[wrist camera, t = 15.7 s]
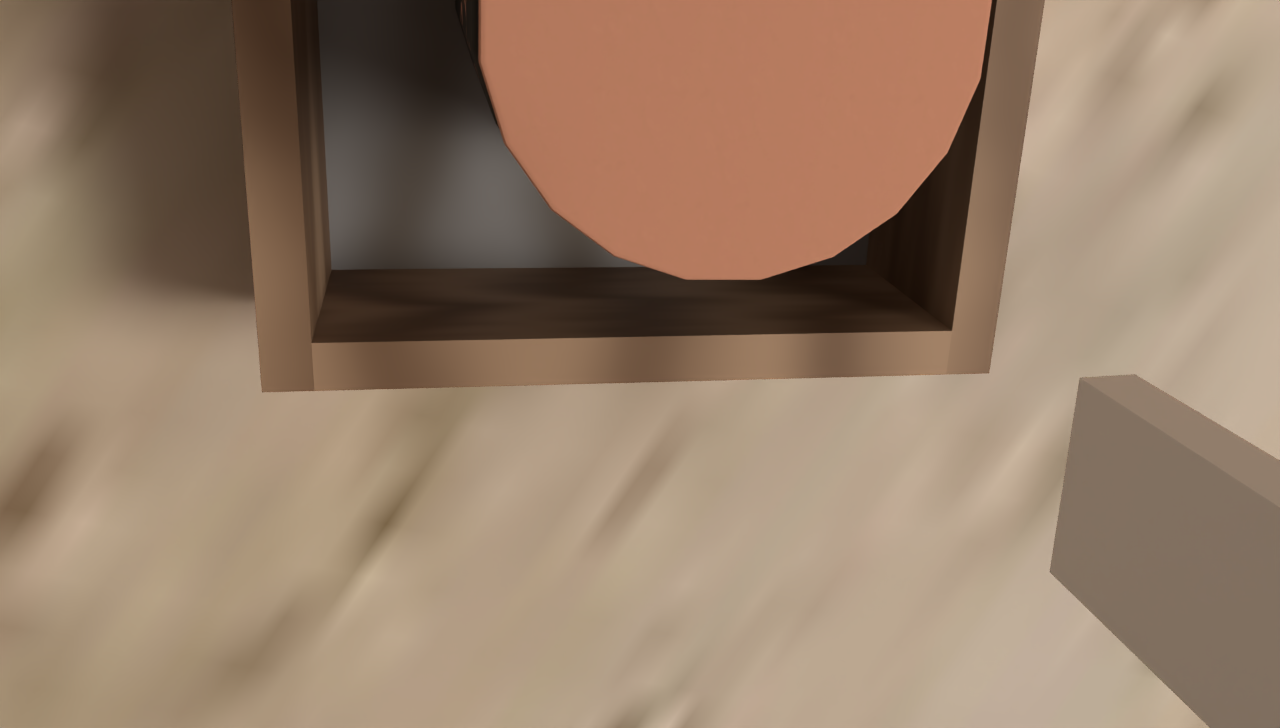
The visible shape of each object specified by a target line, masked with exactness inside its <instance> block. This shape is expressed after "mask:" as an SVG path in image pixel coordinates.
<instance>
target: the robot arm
mask: <svg viewBox="0 0 1280 728" xmlns="http://www.w3.org/2000/svg"><path fill="white" fill-rule="evenodd" d="M1050 573H1051V574H1052V575H1053V576H1054V577H1055V578H1056V579H1057V580H1059V581H1060V582H1061V583H1062V584H1063V585H1064V586H1065V587H1066V588H1067V589H1068V590H1069V591H1070V592H1071V593H1072V594H1073V595H1074V596H1075V597H1076V598H1077V599H1078V600H1079V601H1080V602H1081V603H1082V604H1083V605H1084V606H1085V607H1086V608H1087V609H1088V610H1089V611H1090V612H1091V613H1092V614H1093V615H1095V616H1096V617H1097V618H1098V619H1099V620H1100V621H1101V622H1102V623H1103V624H1104V625H1105V626H1106V627H1107V628H1108V629H1109V630H1110V631H1111V632H1112V633H1113V634H1114V635H1115V636H1116V637H1117V638H1118V639H1119V640H1120V641H1121V642H1122V643H1123V644H1124V645H1125V646H1126V647H1127V648H1128V649H1129V650H1131V651H1132V652H1133V653H1134V654H1135V655H1136V656H1137V657H1138V658H1139V659H1140V660H1141V661H1142V662H1143V663H1144V664H1145V665H1146V666H1147V667H1148V668H1149V669H1150V670H1151V671H1152V672H1153V673H1154V674H1155V675H1156V676H1157V677H1158V678H1159V679H1160V680H1161V681H1162V682H1163V683H1164V684H1166V685H1167V686H1168V687H1169V688H1170V689H1171V690H1172V691H1173V692H1174V693H1175V694H1176V695H1177V696H1178V697H1179V698H1180V699H1181V700H1182V701H1183V702H1184V703H1185V704H1186V705H1187V706H1188V707H1189V708H1190V709H1191V710H1192V711H1193V712H1194V713H1195V714H1196V715H1197V716H1198V717H1199V718H1200V719H1202V720H1203V721H1204V722H1205V723H1206V724H1207V725H1208V726H1209V727H1210V728H1280V460H1278V459H1276V458H1275V457H1273V456H1271V455H1270V454H1268V453H1266V452H1264V451H1263V450H1261V449H1259V448H1258V447H1256V446H1254V445H1253V444H1251V443H1249V442H1248V441H1246V440H1244V439H1243V438H1241V437H1239V436H1238V435H1236V434H1234V433H1233V432H1231V431H1229V430H1227V429H1226V428H1224V427H1222V426H1221V425H1219V424H1217V423H1216V422H1214V421H1212V420H1211V419H1209V418H1207V417H1206V416H1204V415H1202V414H1201V413H1199V412H1197V411H1196V410H1194V409H1192V408H1191V407H1189V406H1187V405H1185V404H1184V403H1182V402H1180V401H1179V400H1177V399H1175V398H1174V397H1172V396H1170V395H1169V394H1167V393H1165V392H1164V391H1162V390H1160V389H1159V388H1157V387H1155V386H1154V385H1152V384H1150V383H1148V382H1147V381H1145V380H1143V379H1142V378H1140V377H1138V376H1137V375H1118V376H1101V377H1084V378H1080V379H1079V386H1078V392H1077V398H1076V405H1075V411H1074V418H1073V424H1072V431H1071V437H1070V444H1069V450H1068V457H1067V463H1066V470H1065V476H1064V483H1063V489H1062V495H1061V502H1060V508H1059V515H1058V521H1057V528H1056V534H1055V541H1054V547H1053V554H1052V560H1051V567H1050Z"/></svg>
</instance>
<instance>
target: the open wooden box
mask: <svg viewBox="0 0 1280 728" xmlns="http://www.w3.org/2000/svg"><path fill="white" fill-rule="evenodd" d="M231 1H232V14H233V27H234V40H235V52H236V65H237V78H238V91H239V104H240V117H241V129H242V142H243V155H244V168H245V181H246V194H247V206H248V219H249V232H250V245H251V258H252V271H253V283H254V296H255V309H256V322H257V335H258V347H259V360H260V373H261V386H262V392H289V391H327V390H365V389H404V388H442V387H481V386H519V385H557V384H596V383H634V382H673V381H711V380H749V379H788V378H826V377H865V376H903V375H941V374H980V373H989V370H990V364H991V357H992V350H993V344H994V337H995V330H996V323H997V317H998V310H999V303H1000V297H1001V290H1002V283H1003V277H1004V270H1005V263H1006V256H1007V250H1008V243H1009V236H1010V230H1011V223H1012V216H1013V209H1014V203H1015V196H1016V189H1017V183H1018V176H1019V169H1020V163H1021V156H1022V149H1023V142H1024V136H1025V129H1026V122H1027V116H1028V109H1029V102H1030V96H1031V89H1032V82H1033V75H1034V69H1035V62H1036V55H1037V49H1038V42H1039V35H1040V29H1041V22H1042V15H1043V8H1044V2H1045V0H992V3H991V10H990V16H989V23H988V30H987V37H986V44H985V51H984V58H983V65H982V72H981V78H980V81H979V83H978V85H977V88H976V90H975V92H974V94H973V96H972V99H971V101H970V103H969V105H968V108H967V110H966V112H965V114H964V117H963V119H962V121H961V123H960V126H959V128H958V130H957V132H956V135H955V137H954V139H953V141H952V144H951V146H950V148H949V150H948V153H947V154H946V155H945V156H944V157H943V159H942V160H941V161H940V162H939V163H938V165H937V166H936V167H935V168H934V170H933V171H932V172H931V173H930V174H929V176H928V177H927V178H926V179H925V180H924V182H923V183H922V184H921V185H920V186H919V188H918V189H917V190H916V191H915V192H914V194H913V195H912V196H911V197H910V198H909V200H908V201H907V202H906V203H905V204H904V206H903V207H902V208H901V209H900V210H899V212H898V213H897V214H896V215H894V216H893V217H891V218H890V219H888V220H887V221H885V222H884V223H882V224H881V225H879V226H878V227H876V228H875V229H874V230H872V231H871V232H869V233H868V234H866V235H865V236H863V237H862V238H860V239H859V240H857V241H856V242H854V243H853V244H851V245H850V246H849V247H847V248H846V249H844V250H843V251H841V252H840V253H838V254H837V255H835V256H834V257H831V258H828V259H825V260H822V261H819V262H815V263H812V264H809V265H806V266H803V267H800V268H796V269H793V270H790V271H787V272H784V273H781V274H777V275H774V276H771V277H768V278H765V279H761V280H685V279H682V278H678V277H675V276H672V275H669V274H666V273H663V272H660V271H657V270H654V269H651V268H648V267H645V266H642V265H639V264H636V263H633V262H630V261H627V260H624V259H620V258H617V257H614V256H613V255H611V254H610V253H609V252H607V251H606V250H604V249H603V248H602V247H600V246H599V245H598V244H596V243H595V242H594V241H592V240H591V239H590V238H588V237H587V236H586V235H584V234H583V233H582V232H580V231H579V230H577V229H576V228H575V227H573V226H572V225H571V224H569V223H568V222H567V221H565V220H564V219H563V218H561V217H560V216H559V215H557V214H556V213H555V212H553V211H552V210H551V209H550V208H549V206H548V205H547V204H546V202H545V201H544V199H543V198H542V196H541V195H540V194H539V192H538V191H537V189H536V188H535V187H534V185H533V184H532V182H531V181H530V179H529V178H528V177H527V175H526V174H525V172H524V171H523V170H522V168H521V167H520V165H519V164H518V162H517V161H516V160H515V158H514V157H513V155H512V154H511V153H510V151H509V150H508V148H507V147H506V145H505V144H504V142H503V138H502V135H501V132H500V129H499V128H498V126H497V125H496V123H495V120H494V118H493V115H492V112H491V110H490V107H489V105H488V102H487V99H486V97H485V94H484V91H483V89H482V86H481V83H480V81H479V78H478V75H477V73H476V70H475V68H474V65H473V62H472V60H471V57H470V53H469V50H468V47H467V44H466V41H465V38H464V34H463V31H462V28H461V25H460V22H459V18H458V15H457V12H456V9H455V0H231Z"/></svg>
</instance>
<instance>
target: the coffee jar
mask: <svg viewBox="0 0 1280 728" xmlns="http://www.w3.org/2000/svg"><path fill="white" fill-rule="evenodd" d="M991 3H992V0H455V9H456V12H457V15H458V18H459V22H460V25H461V28H462V31H463V34H464V38H465V41H466V44H467V47H468V50H469V53H470V57H471V60H472V62H473V65H474V68H475V70H476V73H477V75H478V78H479V81H480V83H481V86H482V89H483V91H484V94H485V97H486V99H487V102H488V105H489V107H490V110H491V112H492V115H493V118H494V120H495V123H496V125H497V126H498V128H499V129H500V132H501V135H502V138H503V142H504V144H505V145H506V147H507V148H508V150H509V151H510V153H511V154H512V155H513V157H514V158H515V160H516V161H517V162H518V164H519V165H520V167H521V168H522V170H523V171H524V172H525V174H526V175H527V177H528V178H529V179H530V181H531V182H532V184H533V185H534V187H535V188H536V189H537V191H538V192H539V194H540V195H541V196H542V198H543V199H544V201H545V202H546V204H547V205H548V206H549V208H550V209H551V210H552V211H553V212H555V213H556V214H557V215H559V216H560V217H561V218H563V219H564V220H565V221H567V222H568V223H569V224H571V225H572V226H573V227H575V228H576V229H577V230H579V231H580V232H582V233H583V234H584V235H586V236H587V237H588V238H590V239H591V240H592V241H594V242H595V243H596V244H598V245H599V246H600V247H602V248H603V249H604V250H606V251H607V252H609V253H610V254H611V255H613V256H614V257H617V258H620V259H624V260H627V261H630V262H633V263H636V264H639V265H642V266H645V267H648V268H651V269H654V270H657V271H660V272H663V273H666V274H669V275H672V276H675V277H678V278H682V279H685V280H761V279H765V278H768V277H771V276H774V275H777V274H781V273H784V272H787V271H790V270H793V269H796V268H800V267H803V266H806V265H809V264H812V263H815V262H819V261H822V260H825V259H828V258H831V257H834V256H835V255H837V254H838V253H840V252H841V251H843V250H844V249H846V248H847V247H849V246H850V245H851V244H853V243H854V242H856V241H857V240H859V239H860V238H862V237H863V236H865V235H866V234H868V233H869V232H871V231H872V230H874V229H875V228H876V227H878V226H879V225H881V224H882V223H884V222H885V221H887V220H888V219H890V218H891V217H893V216H894V215H896V214H897V213H898V212H899V210H900V209H901V208H902V207H903V206H904V204H905V203H906V202H907V201H908V200H909V198H910V197H911V196H912V195H913V194H914V192H915V191H916V190H917V189H918V188H919V186H920V185H921V184H922V183H923V182H924V180H925V179H926V178H927V177H928V176H929V174H930V173H931V172H932V171H933V170H934V168H935V167H936V166H937V165H938V163H939V162H940V161H941V160H942V159H943V157H944V156H945V155H946V154H947V153H948V150H949V148H950V146H951V144H952V141H953V139H954V137H955V135H956V132H957V130H958V128H959V126H960V123H961V121H962V119H963V117H964V114H965V112H966V110H967V108H968V105H969V103H970V101H971V99H972V96H973V94H974V92H975V90H976V88H977V85H978V83H979V81H980V78H981V72H982V65H983V58H984V51H985V44H986V37H987V30H988V23H989V16H990V10H991Z"/></svg>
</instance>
